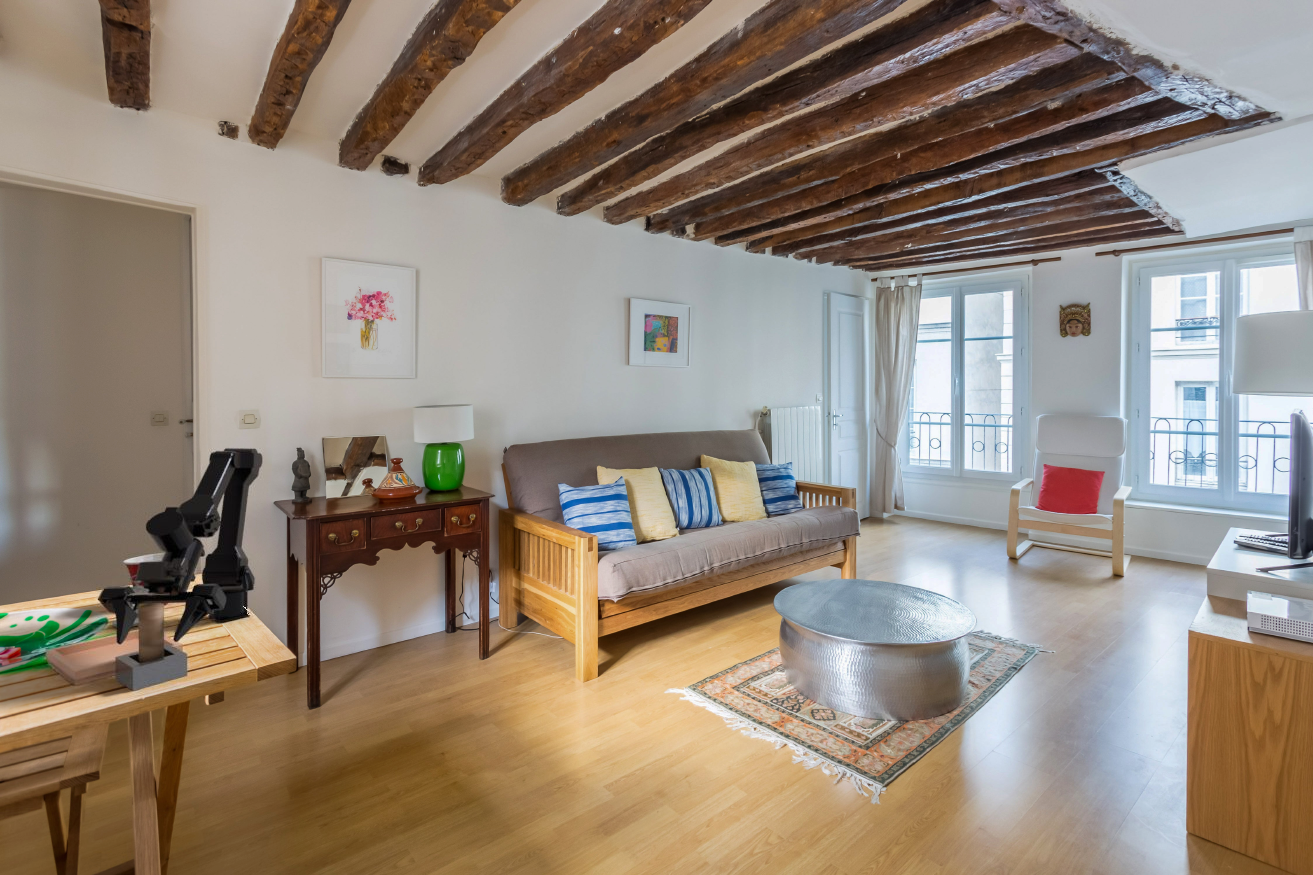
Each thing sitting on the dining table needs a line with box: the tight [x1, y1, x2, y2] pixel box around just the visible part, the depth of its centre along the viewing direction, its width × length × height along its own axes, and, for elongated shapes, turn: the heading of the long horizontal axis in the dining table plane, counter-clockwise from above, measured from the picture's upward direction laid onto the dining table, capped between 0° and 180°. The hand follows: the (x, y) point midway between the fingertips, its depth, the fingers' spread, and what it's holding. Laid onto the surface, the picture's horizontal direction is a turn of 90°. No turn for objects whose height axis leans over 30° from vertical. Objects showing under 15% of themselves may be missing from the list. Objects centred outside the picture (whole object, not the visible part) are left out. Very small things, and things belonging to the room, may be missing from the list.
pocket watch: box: [112, 575, 149, 628], centre depth 142 cm, size 8×8×10 cm
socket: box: [115, 644, 188, 692], centre depth 115 cm, size 8×8×4 cm
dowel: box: [138, 603, 165, 663], centre depth 115 cm, size 4×4×13 cm
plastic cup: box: [123, 552, 169, 606], centre depth 154 cm, size 11×11×12 cm
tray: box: [45, 628, 184, 687], centre depth 122 cm, size 16×16×2 cm
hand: (147, 641), depth 114 cm, fingers open, 8 cm apart
